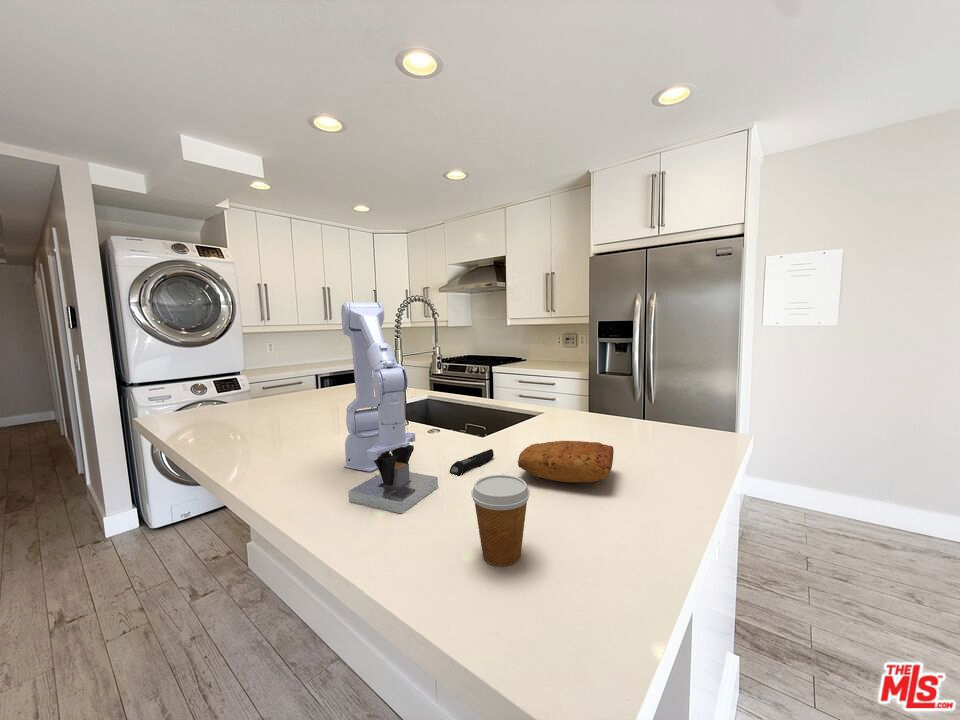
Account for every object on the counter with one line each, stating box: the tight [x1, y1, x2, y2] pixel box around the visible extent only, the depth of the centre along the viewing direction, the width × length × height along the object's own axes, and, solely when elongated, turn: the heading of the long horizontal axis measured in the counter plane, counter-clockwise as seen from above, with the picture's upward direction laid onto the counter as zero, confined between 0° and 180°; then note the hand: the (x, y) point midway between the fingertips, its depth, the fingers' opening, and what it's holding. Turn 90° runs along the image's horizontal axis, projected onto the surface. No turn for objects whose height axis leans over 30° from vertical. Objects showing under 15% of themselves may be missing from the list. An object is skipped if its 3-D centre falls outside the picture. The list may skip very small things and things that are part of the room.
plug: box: [384, 462, 410, 490], centre depth 89 cm, size 4×4×6 cm
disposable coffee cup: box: [470, 474, 531, 567], centre depth 65 cm, size 10×10×12 cm
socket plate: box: [348, 471, 439, 515], centre depth 90 cm, size 14×14×3 cm
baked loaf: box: [517, 440, 614, 483], centre depth 97 cm, size 22×17×8 cm
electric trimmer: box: [449, 448, 494, 476], centre depth 106 cm, size 4×16×3 cm, turn 139°
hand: (394, 480), depth 90 cm, fingers closed on plug, 4 cm apart
